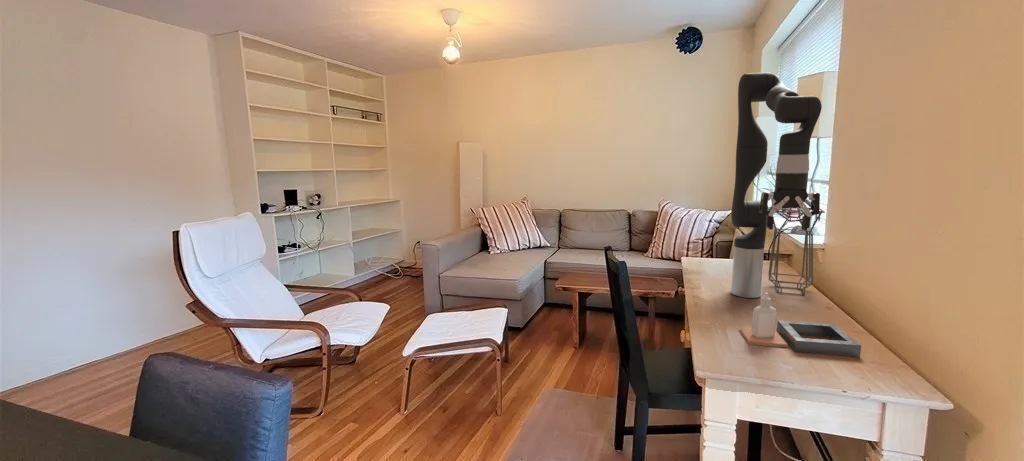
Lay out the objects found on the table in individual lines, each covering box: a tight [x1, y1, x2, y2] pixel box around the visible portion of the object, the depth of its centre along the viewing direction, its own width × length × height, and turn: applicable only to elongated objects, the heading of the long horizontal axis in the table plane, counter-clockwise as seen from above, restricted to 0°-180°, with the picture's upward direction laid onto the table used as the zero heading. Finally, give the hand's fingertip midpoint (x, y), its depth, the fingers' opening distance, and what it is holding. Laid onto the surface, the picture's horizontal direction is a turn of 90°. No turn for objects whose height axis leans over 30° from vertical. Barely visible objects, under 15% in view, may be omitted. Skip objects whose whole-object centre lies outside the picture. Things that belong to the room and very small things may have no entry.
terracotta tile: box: [739, 328, 789, 348], centre depth 118 cm, size 9×9×1 cm
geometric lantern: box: [768, 198, 826, 296], centre depth 156 cm, size 16×16×35 cm
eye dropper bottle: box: [751, 292, 777, 338], centre depth 117 cm, size 4×6×12 cm
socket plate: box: [776, 319, 862, 358], centre depth 115 cm, size 14×14×3 cm
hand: (786, 229), depth 123 cm, fingers open, 8 cm apart
